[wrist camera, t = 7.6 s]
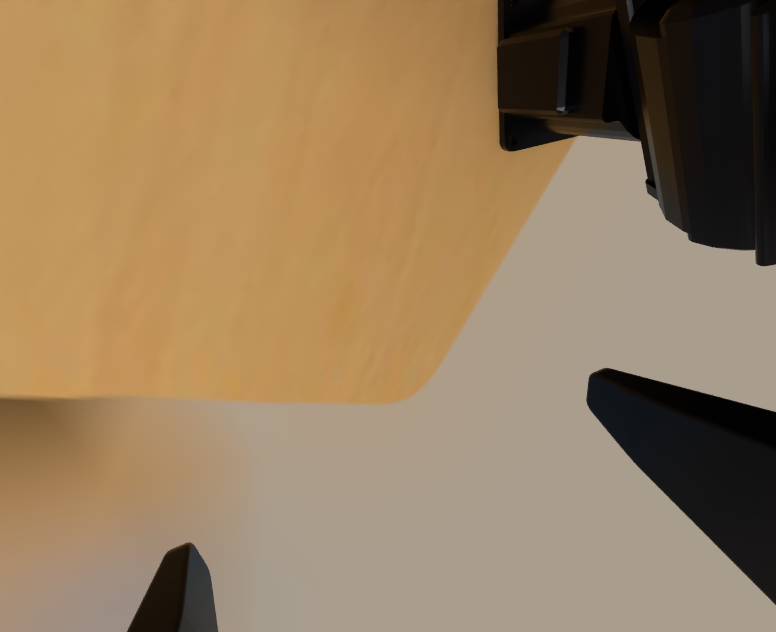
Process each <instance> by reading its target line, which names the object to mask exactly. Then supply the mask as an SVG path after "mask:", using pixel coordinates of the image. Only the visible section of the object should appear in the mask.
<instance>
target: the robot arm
mask: <svg viewBox="0 0 776 632" xmlns="http://www.w3.org/2000/svg"><path fill="white" fill-rule="evenodd" d="M497 70H498V108H499V130H500V146H501V148H502V149H503V150H505V151H517V150H522V149H526V148H530V147H534V146H538V145H542V144H547V143H551V142H555V141H559V140H563V139H567V138H572V137H576V136H590V137H601V138H610V139H620V140H630V141H639V142H641V144H642V150H643V155H644V160H645V166H646V172H647V177H648V179H647V180H646V187H647V192H648V194H650V195H651V196H652V197H654V198H655V199H657V200H658V202H659V206H660V208H661V210H662V212H663V214H664V216H665V218H666V220H668V221H669V222H671V223H672V224H673V225H675V226H677V227H678V228H679V229H681V230H682V231H684V232H686V233H687V234H688V238H689V240H690V241H692V242H695V243H699V244H702V245H706V246H710V247H715V248H722V249H733V250H756V263H757V264H758V265H760V266H769V265H774V264H776V0H513V5H512V6H510V4H509V0H498V47H497ZM511 136H512V137H513V141H512V143H511V144H509V138H510V137H511ZM586 401H587V405H588V406H589V408H590V410H591V411H592V413H593V414H594V415H595V416H596V417H597V419H598V420H599V421H600V422H601V423H602V425H603V426H604V427H605V428H606V429H607V431H608V432H609V433H610V434H611V436H612V437H613V438H614V439H615V440H616V442H617V443H618V444H619V445H620V446H621V448H622V449H623V450H624V451H625V452H626V454H627V455H628V456H629V457H630V458H631V459H632V460H633V462H634V463H635V464H636V465H637V466H638V467H639V468H640V469H641V470H642V471H643V472H644V473H645V474H646V475H647V476H648V477H649V478H650V479H651V480H652V481H653V482H654V483H655V484H656V485H657V486H658V487H659V488H660V489H661V490H662V491H663V492H664V493H665V494H666V495H667V496H668V497H669V498H670V499H671V500H672V501H673V502H674V503H675V504H676V505H677V506H678V507H679V508H680V509H681V510H682V511H683V512H684V513H685V514H686V515H687V516H688V517H689V518H690V519H691V520H692V521H693V522H694V523H695V524H696V525H697V526H698V527H699V528H700V529H701V530H702V531H703V532H704V533H705V534H706V535H707V536H708V537H709V538H710V539H711V540H712V541H713V542H714V543H715V544H716V545H717V546H718V547H719V548H720V549H721V550H722V551H723V552H724V553H725V554H726V555H727V556H728V557H729V558H730V560H731V561H733V562H734V564H735V565H736V566H737V567H739V569H741V571H742V572H744V573H745V575H746V576H747V577H748V578H750V580H751V581H753V583H754V584H755V585H756V586H757V587H758V588H759V589H760V590H761V591H762V592H763V593H764V594H765V595H766V596H768V598H769V599H770V600H771V601H772V602H773V603H774V604H775V605H776V412H774V411H770V410H766V409H762V408H758V407H754V406H751V405H747V404H743V403H739V402H736V401H732V400H728V399H724V398H721V397H716V396H713V395H709V394H705V393H701V392H698V391H693V390H690V389H686V388H682V387H678V386H675V385H671V384H667V383H663V382H660V381H655V380H652V379H648V378H644V377H641V376H637V375H633V374H629V373H625V372H622V371H618V370H614V369H610V368H604V369H601V370H599V371H596V372H594V373H592V374H591V375H590V377H589V382H588V390H587V399H586ZM127 632H218V627H217V620H216V613H215V605H214V598H213V590H212V582H211V576H210V572H209V569H208V567H207V565H206V563H205V562H204V560H203V558H202V557H201V555H200V554H199V552H198V550H197V549H196V547H195V546H194V545H193V544H192V543H190V542H189V543H185V544H183V545H180V546H178V547H176V548H173V549H171V550H169V551H168V552H167V553H166V554H165V556H164V558H163V560H162V562H161V564H160V566H159V568H158V570H157V572H156V574H155V576H154V578H153V580H152V582H151V584H150V586H149V588H148V590H147V592H146V594H145V596H144V598H143V600H142V602H141V604H140V606H139V608H138V610H137V612H136V614H135V616H134V618H133V620H132V622H131V624H130V627H129V628H128V631H127Z"/></svg>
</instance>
